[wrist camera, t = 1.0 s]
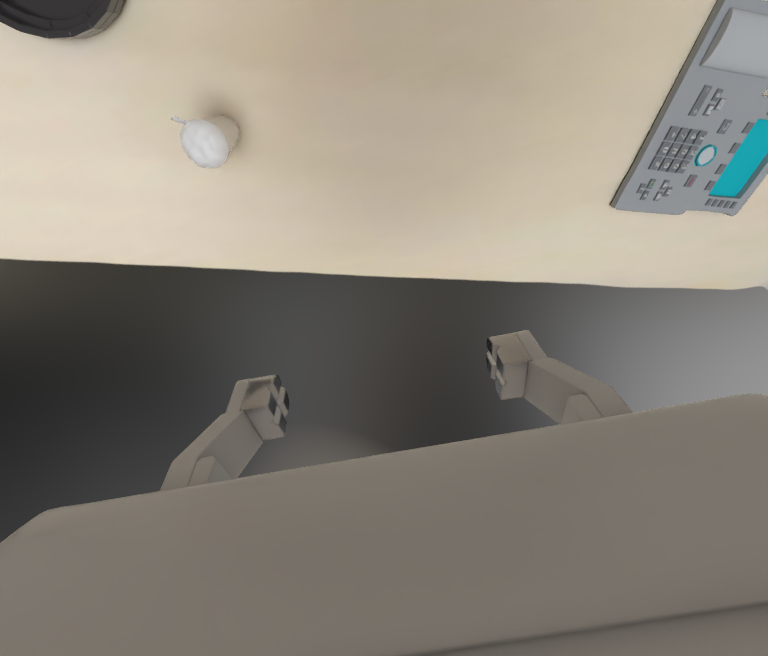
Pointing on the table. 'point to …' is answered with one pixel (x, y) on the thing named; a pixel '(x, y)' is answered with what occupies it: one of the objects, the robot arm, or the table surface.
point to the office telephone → (709, 122)
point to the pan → (59, 16)
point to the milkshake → (209, 139)
